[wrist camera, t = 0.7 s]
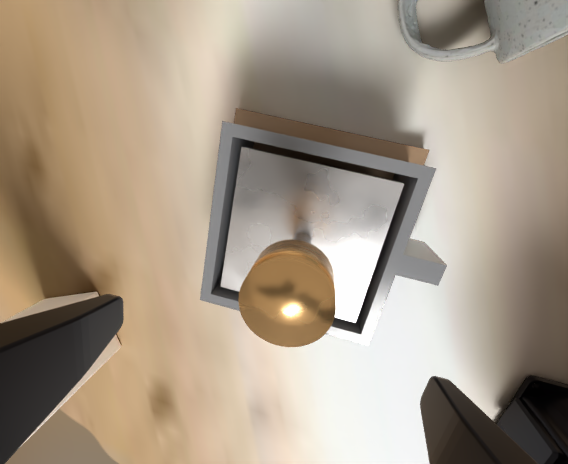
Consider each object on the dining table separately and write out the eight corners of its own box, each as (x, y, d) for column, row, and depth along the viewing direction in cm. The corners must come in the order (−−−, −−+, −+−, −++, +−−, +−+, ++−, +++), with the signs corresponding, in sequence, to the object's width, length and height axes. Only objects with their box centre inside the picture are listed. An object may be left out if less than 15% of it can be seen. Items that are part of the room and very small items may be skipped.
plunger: (401, 182, 14) (466, 216, 7) (354, 316, 17) (372, 429, 10) (244, 146, 15) (177, 149, 8) (223, 281, 17) (160, 367, 11)
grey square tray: (448, 154, 17) (499, 160, 12) (385, 314, 21) (404, 369, 16) (240, 109, 18) (206, 97, 13) (217, 269, 22) (184, 308, 17)
